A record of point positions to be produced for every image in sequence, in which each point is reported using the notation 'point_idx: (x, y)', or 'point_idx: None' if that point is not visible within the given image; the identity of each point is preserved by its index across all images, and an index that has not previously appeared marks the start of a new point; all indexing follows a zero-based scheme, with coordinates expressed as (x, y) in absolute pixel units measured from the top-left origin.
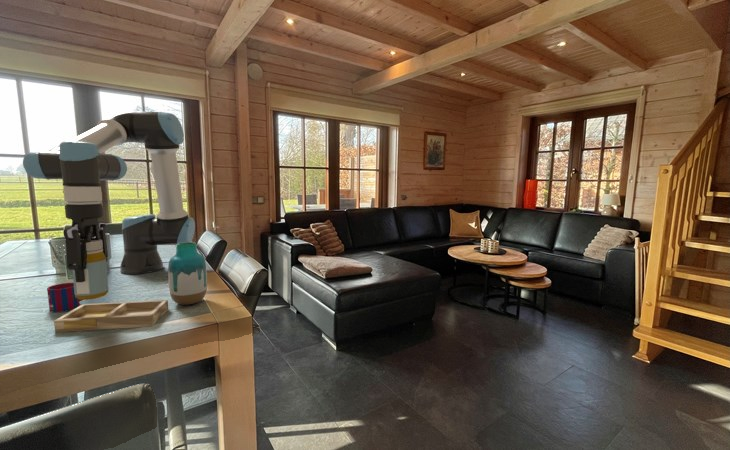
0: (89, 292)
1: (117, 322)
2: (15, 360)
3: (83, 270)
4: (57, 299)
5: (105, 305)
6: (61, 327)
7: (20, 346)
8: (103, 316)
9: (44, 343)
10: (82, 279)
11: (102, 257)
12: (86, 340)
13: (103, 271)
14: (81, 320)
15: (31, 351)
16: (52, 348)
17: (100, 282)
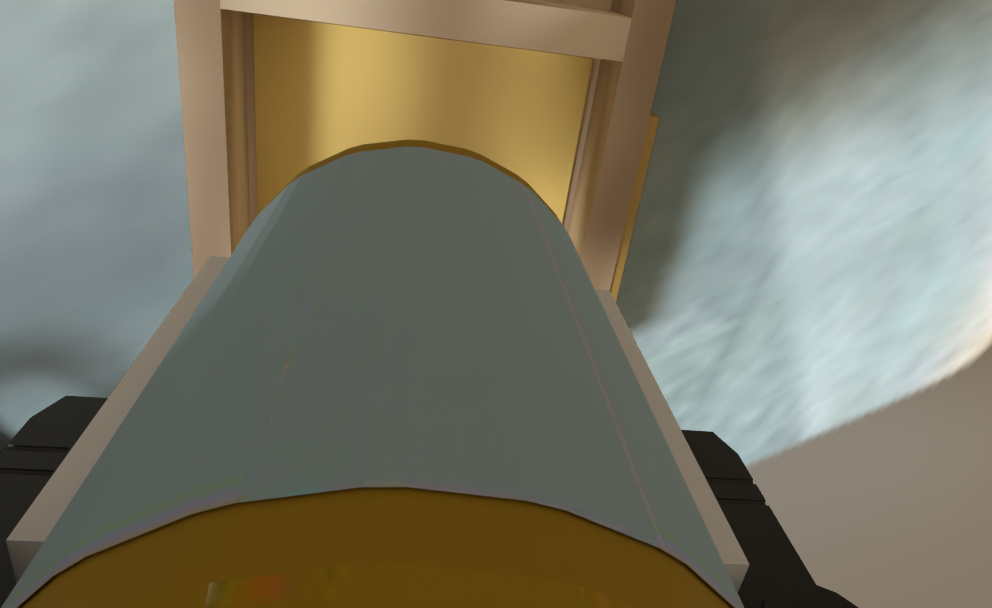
0: (602, 295)
1: None
2: (919, 361)
3: (742, 586)
4: None
5: (232, 186)
6: None
7: (723, 430)
8: (390, 136)
9: (737, 334)
10: (736, 461)
11: (482, 603)
12: (817, 89)
13: (478, 297)
14: (632, 228)
15: (832, 345)
16: (848, 254)
17: (540, 240)
